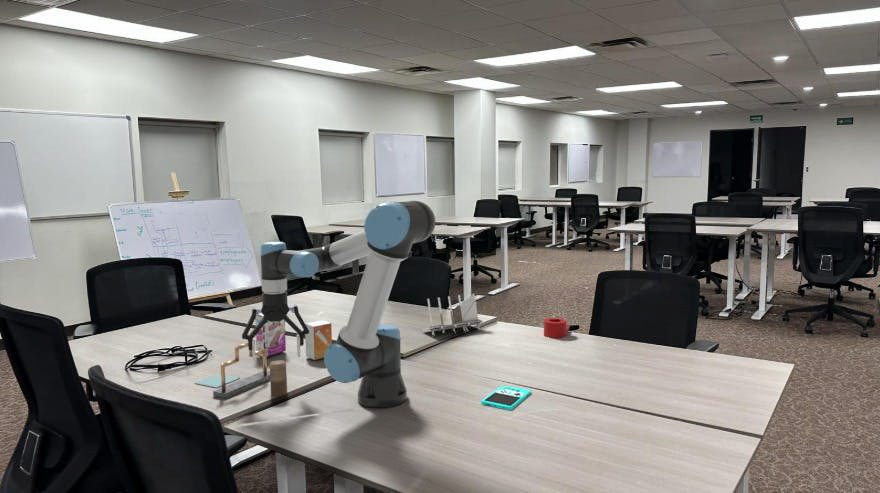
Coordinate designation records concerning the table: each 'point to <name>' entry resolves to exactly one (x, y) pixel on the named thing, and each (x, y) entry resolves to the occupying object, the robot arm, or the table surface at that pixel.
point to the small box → (318, 339)
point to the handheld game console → (506, 397)
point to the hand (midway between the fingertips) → (276, 358)
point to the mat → (216, 381)
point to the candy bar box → (270, 337)
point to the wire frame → (244, 383)
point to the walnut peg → (278, 378)
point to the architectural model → (458, 315)
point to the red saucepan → (555, 328)
